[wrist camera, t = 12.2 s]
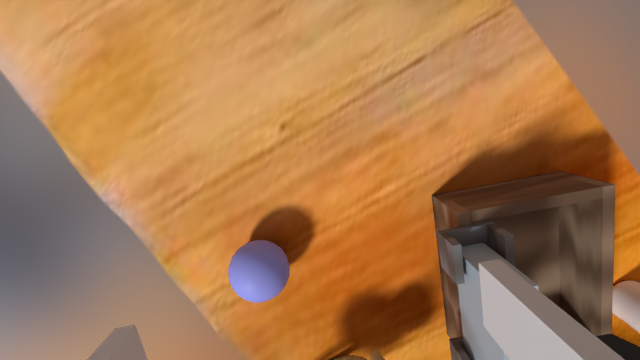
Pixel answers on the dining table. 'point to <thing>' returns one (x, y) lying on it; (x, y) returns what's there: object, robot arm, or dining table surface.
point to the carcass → (534, 243)
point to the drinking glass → (627, 303)
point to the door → (478, 304)
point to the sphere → (259, 271)
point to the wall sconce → (375, 356)
